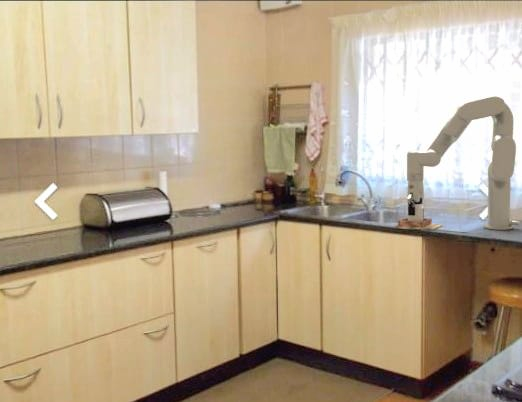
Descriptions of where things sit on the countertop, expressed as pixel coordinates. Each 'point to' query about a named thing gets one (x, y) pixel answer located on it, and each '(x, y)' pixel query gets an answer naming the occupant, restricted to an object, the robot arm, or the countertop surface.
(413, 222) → the dock board
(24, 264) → the countertop surface
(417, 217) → the medicine bottle
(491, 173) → the robot arm
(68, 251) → the countertop surface
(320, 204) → the countertop surface
